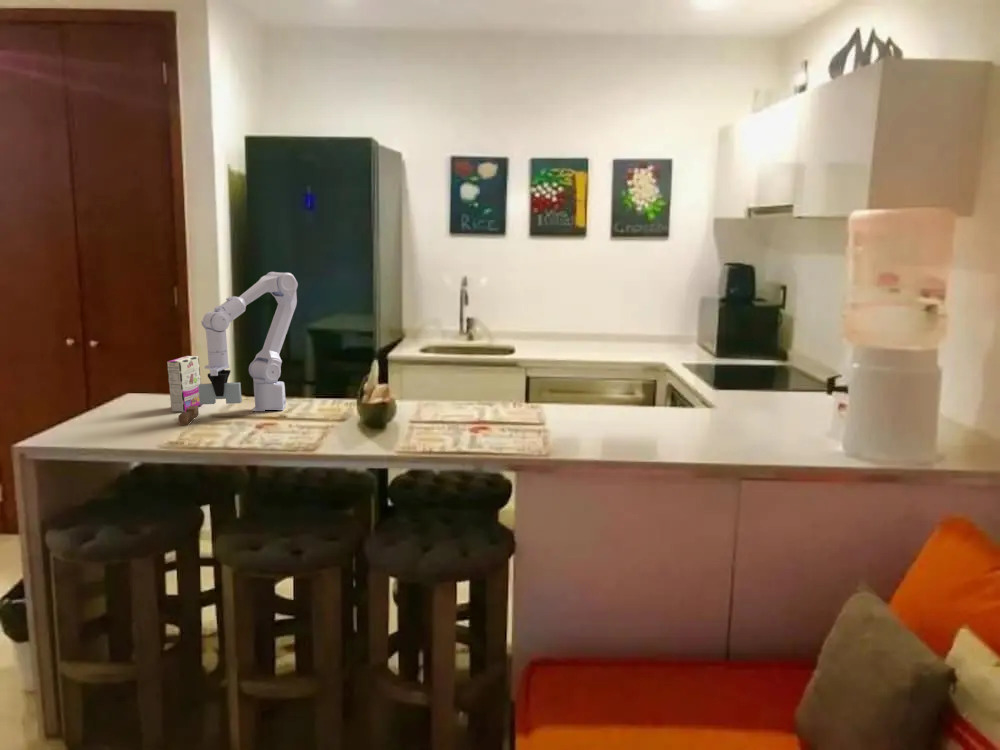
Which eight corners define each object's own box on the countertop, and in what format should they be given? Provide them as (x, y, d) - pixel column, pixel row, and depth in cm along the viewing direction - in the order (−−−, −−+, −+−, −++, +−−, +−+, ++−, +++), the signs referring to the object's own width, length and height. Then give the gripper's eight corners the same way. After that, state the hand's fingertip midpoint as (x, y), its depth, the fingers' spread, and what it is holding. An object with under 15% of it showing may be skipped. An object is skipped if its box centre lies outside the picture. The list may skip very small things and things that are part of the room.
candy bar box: (189, 404, 283) (185, 355, 281) (203, 405, 282) (199, 355, 280) (170, 412, 273) (166, 360, 270) (184, 412, 272) (180, 361, 269)
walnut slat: (198, 415, 267) (198, 405, 267) (187, 425, 254) (186, 415, 253) (190, 415, 267) (190, 406, 267) (179, 425, 253) (178, 415, 253)
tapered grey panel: (241, 401, 265) (240, 382, 264) (240, 403, 263) (238, 383, 262) (201, 402, 264) (200, 383, 263) (199, 404, 262) (198, 385, 261)
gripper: (209, 348, 267) (212, 391, 270) (198, 355, 253) (201, 400, 256) (232, 347, 268) (235, 390, 271) (222, 354, 254) (226, 399, 256)
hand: (220, 395), depth 263 cm, fingers closed on tapered grey panel, 2 cm apart
